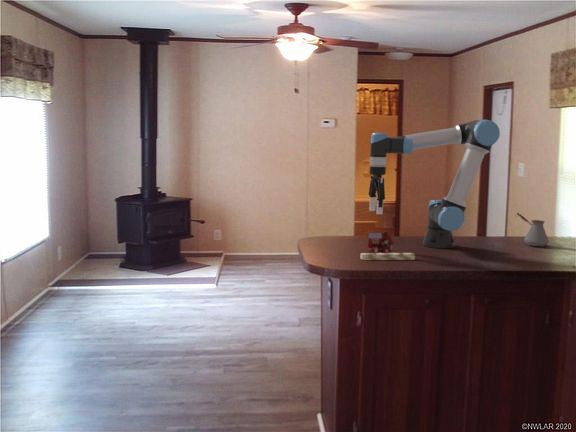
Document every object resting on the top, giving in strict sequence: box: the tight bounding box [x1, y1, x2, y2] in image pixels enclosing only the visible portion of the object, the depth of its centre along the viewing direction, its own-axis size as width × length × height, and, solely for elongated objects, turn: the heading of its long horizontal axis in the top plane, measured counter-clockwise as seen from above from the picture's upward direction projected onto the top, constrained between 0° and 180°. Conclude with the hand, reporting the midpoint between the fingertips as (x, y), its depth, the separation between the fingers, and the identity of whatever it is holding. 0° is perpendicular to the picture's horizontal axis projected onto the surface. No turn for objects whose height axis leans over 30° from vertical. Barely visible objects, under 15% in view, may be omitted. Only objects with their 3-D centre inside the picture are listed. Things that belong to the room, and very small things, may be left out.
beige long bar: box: [359, 252, 416, 261], centre depth 263 cm, size 24×3×3 cm, turn 98°
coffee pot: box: [514, 212, 549, 247], centre depth 308 cm, size 21×12×15 cm, turn 21°
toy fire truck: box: [366, 231, 394, 253], centre depth 274 cm, size 7×12×10 cm, turn 96°
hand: (375, 212), depth 281 cm, fingers open, 11 cm apart
